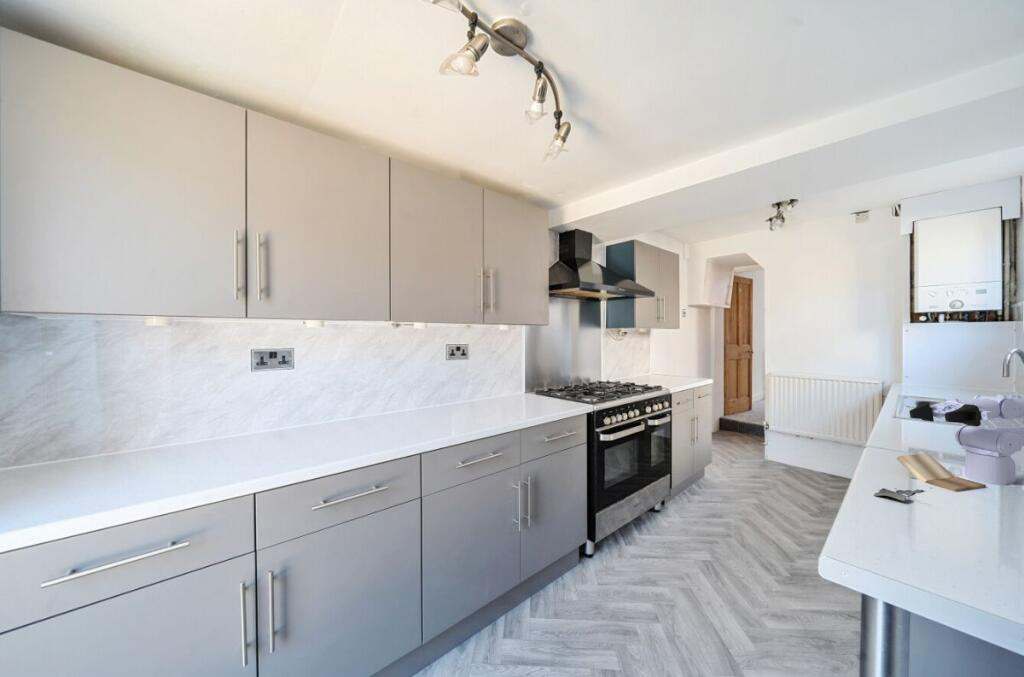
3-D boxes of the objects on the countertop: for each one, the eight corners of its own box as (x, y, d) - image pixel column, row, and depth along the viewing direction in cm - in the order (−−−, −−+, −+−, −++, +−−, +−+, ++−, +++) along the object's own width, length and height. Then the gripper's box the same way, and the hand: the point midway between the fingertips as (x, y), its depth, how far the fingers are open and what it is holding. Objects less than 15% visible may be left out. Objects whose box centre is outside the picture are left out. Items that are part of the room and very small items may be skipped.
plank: (923, 455, 112) (927, 452, 111) (950, 479, 106) (955, 476, 105) (896, 458, 110) (900, 455, 109) (922, 483, 104) (926, 480, 103)
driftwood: (901, 504, 93) (901, 496, 93) (867, 494, 100) (867, 486, 99) (945, 491, 100) (945, 483, 100) (911, 482, 107) (911, 475, 107)
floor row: (913, 471, 114) (913, 464, 114) (985, 491, 99) (985, 484, 99) (885, 474, 112) (885, 468, 112) (955, 496, 97) (955, 489, 97)
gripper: (932, 394, 110) (894, 399, 108) (1003, 398, 96) (961, 403, 94) (936, 418, 110) (898, 423, 108) (1008, 425, 96) (966, 431, 93)
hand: (928, 416), depth 101 cm, fingers open, 7 cm apart
